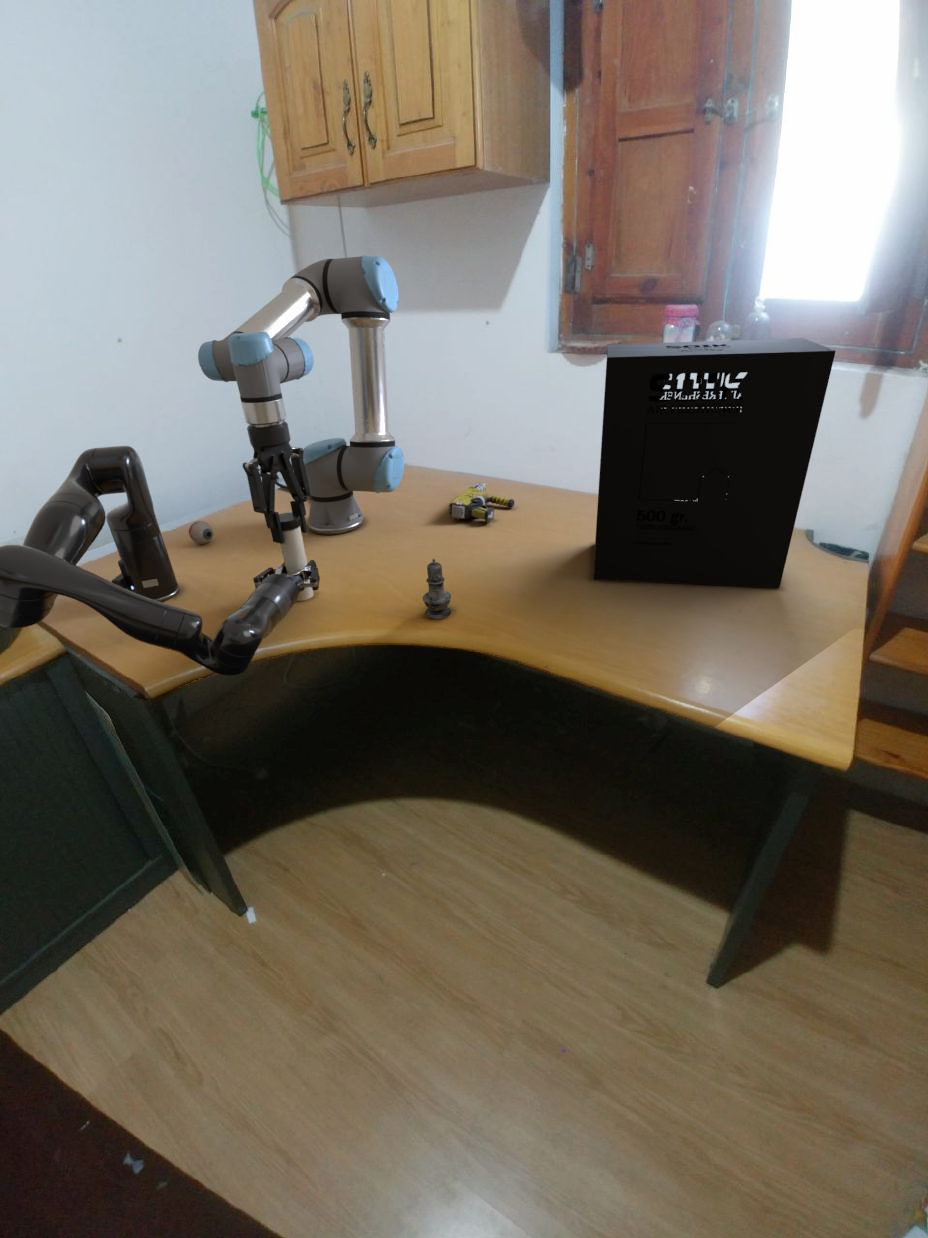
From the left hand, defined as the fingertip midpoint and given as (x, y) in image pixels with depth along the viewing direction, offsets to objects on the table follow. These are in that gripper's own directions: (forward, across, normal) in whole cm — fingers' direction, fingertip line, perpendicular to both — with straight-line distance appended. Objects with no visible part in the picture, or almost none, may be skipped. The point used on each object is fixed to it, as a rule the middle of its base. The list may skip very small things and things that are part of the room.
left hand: (301, 563), depth 132 cm
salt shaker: (-10, +31, -6) cm, 33 cm away
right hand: (-3, 0, +8) cm, 8 cm away
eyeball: (+27, -38, -6) cm, 47 cm away
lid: (-3, 0, +11) cm, 12 cm away
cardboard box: (+14, +83, -6) cm, 85 cm away
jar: (-3, 0, -6) cm, 7 cm away
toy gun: (+51, +36, -6) cm, 63 cm away
